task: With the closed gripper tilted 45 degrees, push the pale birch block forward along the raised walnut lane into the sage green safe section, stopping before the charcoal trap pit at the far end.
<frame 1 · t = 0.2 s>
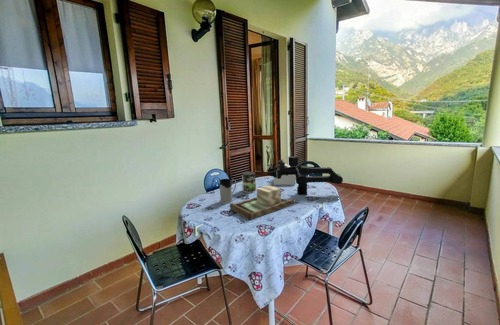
hand: (267, 171, 179), 17 cm above the table, tool horizontal, fingers open, 9 cm apart
trap lane: (263, 206, 158), on the table
coffee can: (249, 190, 191), on the table
birch block: (269, 201, 161), point 2 cm above the table, touching trap lane
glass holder: (229, 200, 173), on the table
butter dish: (284, 182, 211), on the table
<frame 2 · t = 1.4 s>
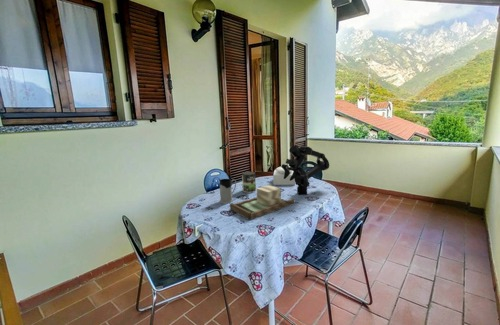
hand: (287, 179, 168), 14 cm above the table, tool tilted 45°, fingers open, 5 cm apart
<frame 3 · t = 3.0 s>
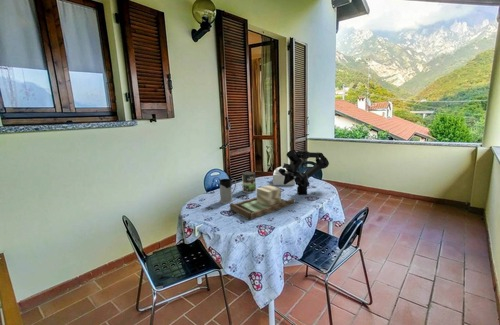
hand: (284, 184, 167), 11 cm above the table, tool tilted 45°, fingers closed
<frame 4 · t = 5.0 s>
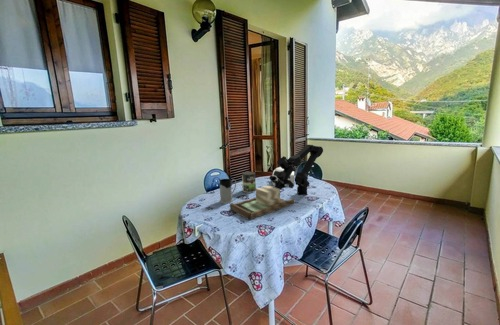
hand: (274, 192, 162), 7 cm above the table, tool tilted 45°, fingers closed
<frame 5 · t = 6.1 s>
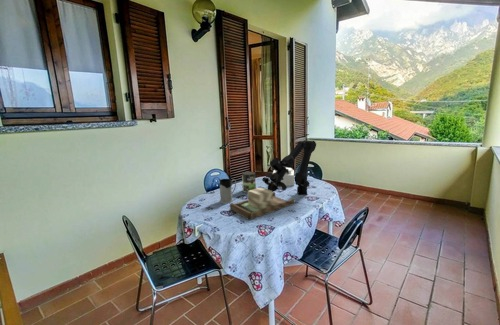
hand: (267, 194, 159), 7 cm above the table, tool tilted 45°, fingers closed, pressing on birch block
birch block: (260, 204, 156), point 2 cm above the table, touching gripper, trap lane
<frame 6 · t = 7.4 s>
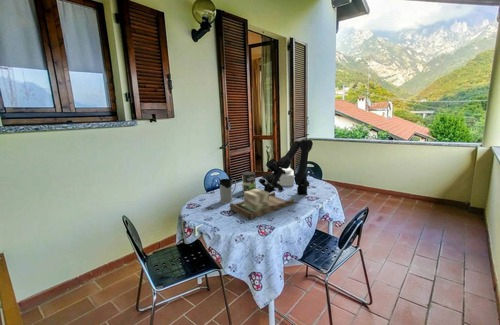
hand: (263, 195, 157), 7 cm above the table, tool tilted 45°, fingers closed, pressing on birch block
birch block: (256, 205, 155), point 2 cm above the table, touching gripper, trap lane
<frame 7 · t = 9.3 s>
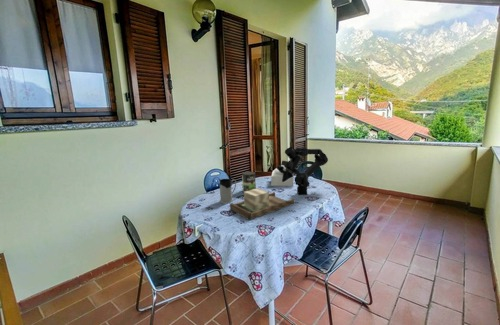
hand: (282, 181, 165), 13 cm above the table, tool tilted 45°, fingers closed
birch block: (256, 205, 155), point 2 cm above the table, touching trap lane
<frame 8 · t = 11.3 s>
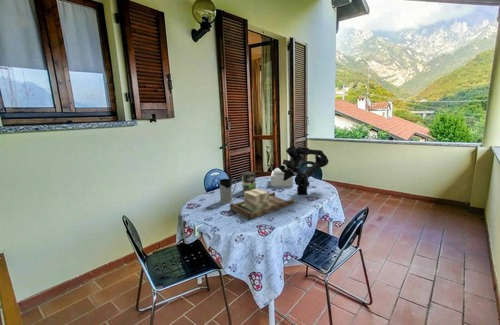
hand: (283, 180, 166), 14 cm above the table, tool tilted 45°, fingers closed
at the end: birch block 0.1 cm from the target spot on the trap lane, point 2.0 cm above the trap lane's base; birch block tilted 0°; birch block moved 10.2 cm from its start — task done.
